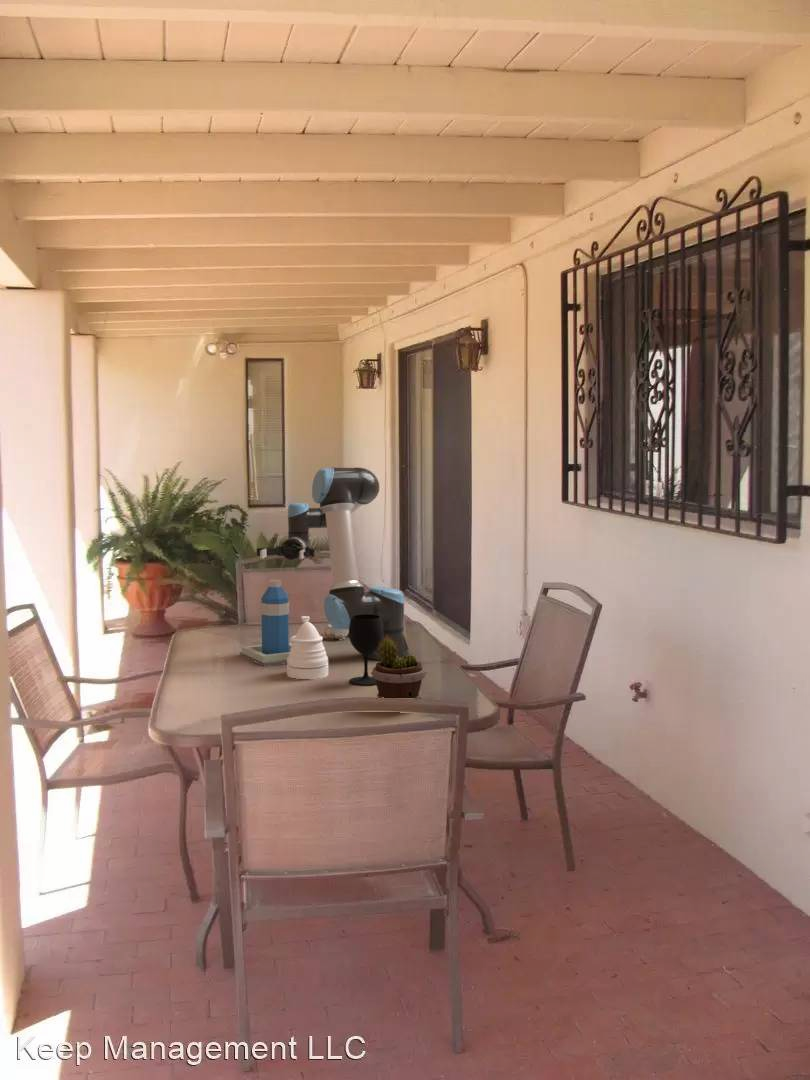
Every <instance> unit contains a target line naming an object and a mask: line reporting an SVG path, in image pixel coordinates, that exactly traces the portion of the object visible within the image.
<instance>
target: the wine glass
mask: <svg viewBox="0 0 810 1080" xmlns="http://www.w3.org/2000/svg"><path fill="white" fill-rule="evenodd" d="M348 639H349V642H350V643H351V646H352V647H353V648H354V650H356V651H357V652H358V653H359V654H360V655H362V656H363V662H364V664H363V666H364V667H363V668H364V671H363V675H362V676H355V677H352V678H350V679H349V680H348V683H350V684H351V685H355V686H358V685H359V686H360V687H371V686H373V687H374V686H377V685H376V679H374V678H373V676H370V675H369V672H368V669H369V667H368V665H369V664H368V663H369V658H368V657H369V655H370V654H371V653H373V652H374V651H375V650H376V649H377V648H378V646H380V644H381V642H382V639H383V625H382V620H381V617H380V616H378V615H372V614H360V615H354V616H352V618H351V621H350V625H349V633H348Z"/></svg>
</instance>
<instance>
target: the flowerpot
mask: <svg viewBox="0 0 810 1080" xmlns="http://www.w3.org/2000/svg"><path fill="white" fill-rule="evenodd" d="M386 635H387V634H386ZM383 637H384V636H383ZM387 637H388V636H387ZM384 638H385V639H384V641H383V642H381V647H380V646H378V647H379V648H380V649H378V650H380V652H381V653H380V652H379V654H378V655H381V656H380V657H381V658H382V659H381V660H380V661H378V662H376V664H375V666H374V667H373V668H372V671H371V672H370V674H371V675H372V676H371V677H373V678H374V679H376V685H375V686H376V688H377V691H378V692H377V694H376V698H377V697H378V698H382V697H384V698H414V699H420V700H421V693H420V689H421V685H422V682H423V681H422V680H424V679H425V678H426V674H427V673H428V672H427V671H426V669H425V667H423V666H422V662H421V661H417V657H416V655H414V653H410V652H411V650H409V653H408V652H407V653H408V654H407V653H406V654H405V656H403V657H402V658H399V657H398V656H399V655H396V652H397V650H398V649H397V647H398V646H397V645H398V644H396V643H397V642H396V641H395V643H394V641H392V639H390V638H388V639H387V638H386V637H384ZM391 638H392V637H391ZM393 640H394V639H393ZM395 644H396V645H395ZM396 646H397V647H396ZM378 650H377V651H378ZM398 652H399V651H398ZM380 657H379V658H380ZM396 657H398V658H399V659H398V658H396Z"/></svg>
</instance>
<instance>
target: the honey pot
mask: <svg viewBox="0 0 810 1080" xmlns="http://www.w3.org/2000/svg"><path fill="white" fill-rule="evenodd" d="M300 618H301V619H300V620H301V621H302V624H301V625H300V627H299V629H298V630H297V631H296V634H295V635H292V636H291V637H290V641H291V643H292V647H291V648H290V652H289V656H288V658H287V664H286V676H287V675H288V676H289V677H292V678H297V679H315V680H317V679H316V678H321V679H324V678H323V677H325V678H327V677H328V676H329V657H328V655H327V652H326V647H325V646H324V643H323V640H324V638H323V636H321V635H320V634H319V632H318V630H317V628H316V627H315V626H314V624H312V623H311V622H309V621H310V616H309V615H307V616H305V615H303V616H301V617H300ZM288 676H287V677H288ZM326 676H327V677H326ZM289 677H288V678H289ZM292 678H291V679H292ZM297 679H296V680H297Z"/></svg>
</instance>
